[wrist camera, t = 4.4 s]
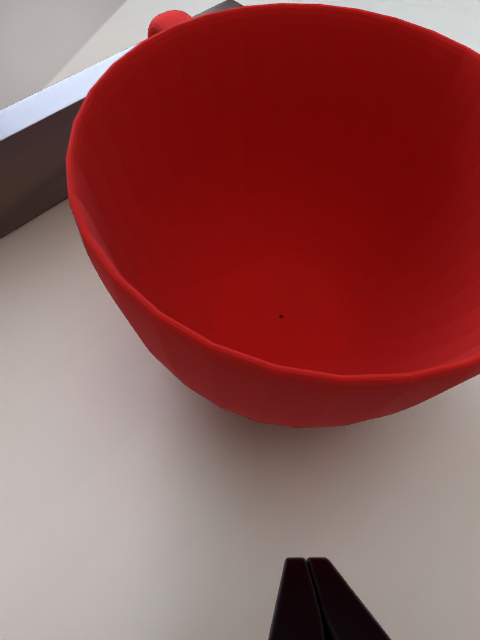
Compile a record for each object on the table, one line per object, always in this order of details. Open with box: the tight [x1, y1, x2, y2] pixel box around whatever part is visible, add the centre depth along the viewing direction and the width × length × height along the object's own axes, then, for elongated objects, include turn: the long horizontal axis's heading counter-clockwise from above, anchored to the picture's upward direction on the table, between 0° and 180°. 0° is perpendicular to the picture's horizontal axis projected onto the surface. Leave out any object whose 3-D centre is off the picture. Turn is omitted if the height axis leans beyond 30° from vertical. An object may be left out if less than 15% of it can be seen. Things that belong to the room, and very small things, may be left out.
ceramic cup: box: [65, 3, 480, 428], centre depth 16 cm, size 13×17×10 cm
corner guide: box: [0, 0, 243, 238], centre depth 18 cm, size 26×22×4 cm
